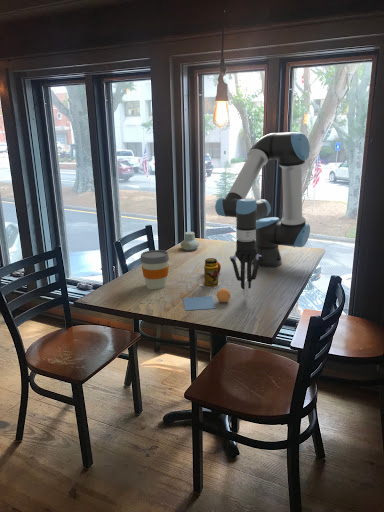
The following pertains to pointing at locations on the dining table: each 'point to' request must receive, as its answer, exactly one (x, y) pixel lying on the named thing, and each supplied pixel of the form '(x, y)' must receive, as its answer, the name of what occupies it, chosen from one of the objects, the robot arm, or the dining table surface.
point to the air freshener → (189, 241)
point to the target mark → (199, 303)
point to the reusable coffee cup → (155, 268)
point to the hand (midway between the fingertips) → (245, 295)
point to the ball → (223, 295)
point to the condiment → (210, 273)
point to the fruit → (218, 267)
